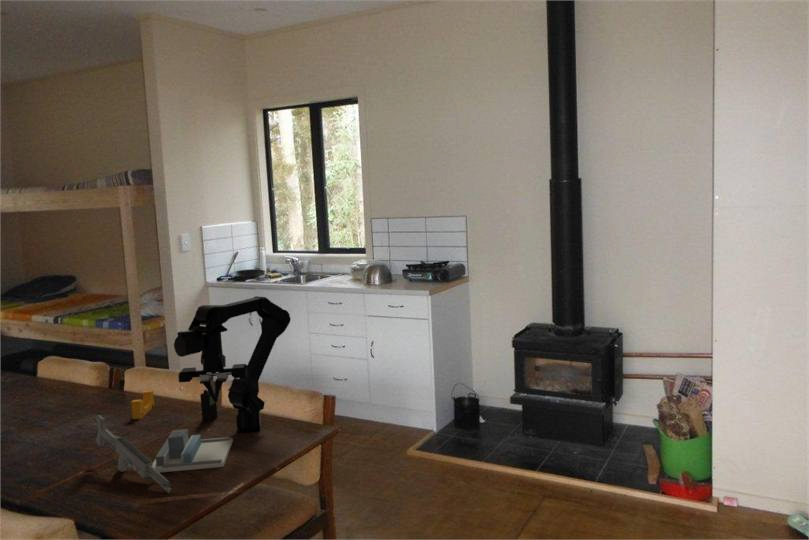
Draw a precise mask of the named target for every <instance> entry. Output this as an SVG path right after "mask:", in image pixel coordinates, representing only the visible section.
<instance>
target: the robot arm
mask: <svg viewBox="0 0 809 540" xmlns="http://www.w3.org/2000/svg"><path fill="white" fill-rule="evenodd" d="M254 312H256V314H257V315H258V316H259V318H261V322H260V327H261V333H260V336H259V337H258V340H257V342H256V345H255V346H254V349H253V351H252V354H251V356H250V359H249V361H248V362H247V364H246V363H238V364H236V363H235V364H233V365H232V367H230V368H226V365H227V364H226V361H227V360H226V355H224V353H223V342H222V333H223V332H228V328H227V327H225V326H224V325H223V324H225V323H227V322H228V321H229V320H230V319H232V318H236V317H240V316H244V315H247V314H251V313H254ZM291 319H292V318H291V316H290V313H289V311H288V310H287V309H284V308H282V307H281V306H280V305H277V304H276V303H274V302H272V301H271V300H270V299H269V298H267V297H266V296H258V295H257V296H256V295H255V296H254V297H251V298H247V299H243V300H239V301H233V302H231V303H226V304H205V305H203V304H202V305H199V306H198V307H197V309H196V311H195V314H194V316H193V319H192V321H191V322H190V325H189V327H188V330H185V331H178V332H177V337H175V339H174V343H173V349H174V352H175V353H176V355H177V356H179V357H180V358H181V357H187V356H190V355H194V354H198V353H201V354H200V364H201V365H202V369H200V370H197V368H196V367H184V368H183V369H181V371H180V372H179V373H178V376H177V377H178V383H188V382H189V383H190V382H191V381H192V380H193V379H194V378H199V379H200V380H199V384H200V385H201V384H203V385H204V387H205V388H206V390H207V391H209V393H210V395H211V397H212V399H213V401H214V402H216V403H218V401H219V396H220V395H221V394H220V393H221V389H222V386H223V383H225V382H227V380H228V379H229V376H231V377H232V378H233V379H232V381H231V385H230V386H229V388H228V389H227V391H228V395H227V398H228V402H229V403H230V404H231V405H232V407H233V409H235V410H237V413H236V416H235V417H236V418H235V420H236V421H235V422H236V429H237V432H238V433H250V432H251V433H252V432H260V431H261V428H262V425H263V424H262V421H261V411H262V410H264V408H265V401H264V400H262V398H260V397H259V396H258V395H259V393H260V387H259V386H260V385H259V381H260V378H261V375H262V373H263V371H264V369H265V366H266V364H267V361H268V360H269V357H270V355H271V352H272V350H273V347H274V345H275V343H276V341H277V339H278V338H279V337H280V336H282V334H283V333H285V331H286V330H287V328H288V327H289V324H290V322H291ZM214 377H216V379H214Z"/></svg>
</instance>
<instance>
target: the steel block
mask: <svg viewBox="0 0 809 540" xmlns="http://www.w3.org/2000/svg"><path fill="white" fill-rule="evenodd" d="M167 439H168V445H169V457H170V459H179V458H181V454H182V452H183V450H184V448H185V446H186V445H187V443H188V441H189V439H190V438H189V429H188V428H184V429H173V430H172V431H171V432H170V434H169V436H168V437H167Z"/></svg>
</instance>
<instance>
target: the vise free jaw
mask: <svg viewBox="0 0 809 540" xmlns="http://www.w3.org/2000/svg"><path fill="white" fill-rule="evenodd" d="M201 439H202V435H201V434H193V435H191V436H190V438H189V441H188V443H187V445H186V446H185V448H184V450H183V452H182V454H181V460H182V463H186V462H192V461H193V459H194V457H195V455H196V453H197V451H198V449H199V447H200V445H201Z"/></svg>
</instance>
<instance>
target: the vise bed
mask: <svg viewBox="0 0 809 540" xmlns="http://www.w3.org/2000/svg"><path fill="white" fill-rule="evenodd" d="M233 441H234V438H231V436H228V437H227V436H226V437H225V436H224V437H215V438H204V439H203V438H201V445H200V447H199V449H198V451H197V453H196V455H195V457H194V459H193V461H192V462H186V463H182V460H181V458H179V459H170V457H169V445H168V438H167V439H166V440H165V442H164V443H163V445H162V446H161V448H160V450H159V451H158V453H157V454H156V455H155V459H154V461H152V462H153V465H152V467H153V468H154V469H156V470H157V471H158V472H159V473H160V474H161V473H169V472H181V471H191V470H192V471H193V470H202V469H214V468H222V467H224V466H225V464H226V461H227V459H228V456H229V453H230V450H231V448H232V445H233Z"/></svg>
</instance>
